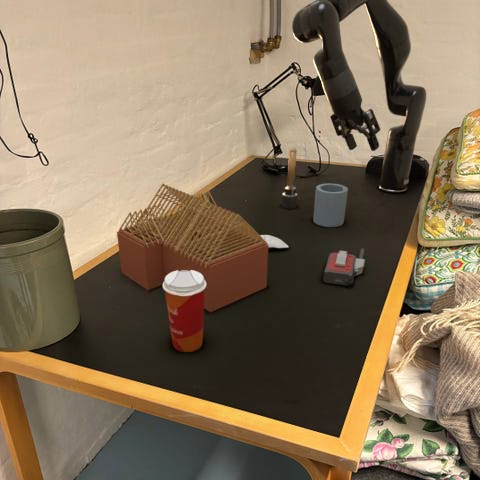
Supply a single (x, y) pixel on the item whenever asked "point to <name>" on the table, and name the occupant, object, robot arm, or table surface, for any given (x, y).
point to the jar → (330, 205)
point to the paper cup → (185, 308)
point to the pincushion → (273, 241)
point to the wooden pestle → (290, 183)
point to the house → (194, 247)
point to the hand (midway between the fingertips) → (364, 148)
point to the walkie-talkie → (343, 267)
